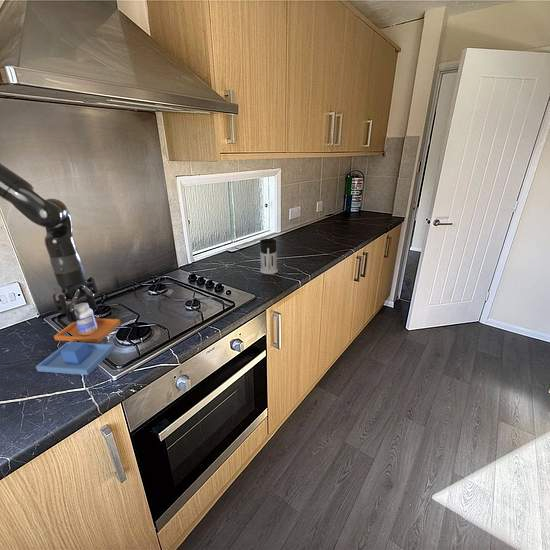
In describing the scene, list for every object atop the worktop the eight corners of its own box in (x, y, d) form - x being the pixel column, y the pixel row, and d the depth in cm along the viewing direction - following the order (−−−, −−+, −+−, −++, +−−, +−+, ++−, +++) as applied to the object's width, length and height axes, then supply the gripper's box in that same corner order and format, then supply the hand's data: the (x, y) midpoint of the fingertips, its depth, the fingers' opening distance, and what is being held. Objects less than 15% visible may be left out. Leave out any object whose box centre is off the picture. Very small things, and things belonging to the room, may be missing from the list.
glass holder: (277, 266, 146) (277, 237, 140) (278, 278, 133) (278, 246, 127) (260, 267, 146) (258, 238, 140) (259, 279, 133) (257, 247, 127)
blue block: (65, 363, 82) (60, 351, 80) (76, 353, 86) (72, 341, 84) (79, 365, 81) (74, 352, 80) (90, 354, 85) (86, 342, 84)
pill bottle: (83, 327, 99) (75, 302, 95) (100, 325, 100) (93, 300, 96) (76, 336, 94) (67, 310, 90) (94, 334, 95) (86, 308, 91)
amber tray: (55, 341, 93) (53, 336, 92) (81, 321, 103) (79, 317, 102) (98, 343, 91) (97, 338, 90) (120, 324, 101) (119, 319, 100)
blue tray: (37, 372, 80) (35, 366, 79) (69, 346, 90) (67, 341, 89) (88, 376, 78) (86, 370, 77) (114, 349, 88) (113, 344, 87)
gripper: (75, 259, 95) (88, 303, 101) (36, 276, 82) (55, 326, 88) (96, 259, 94) (108, 304, 100) (60, 277, 81) (77, 327, 87)
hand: (83, 314), depth 94 cm, fingers open, 8 cm apart
